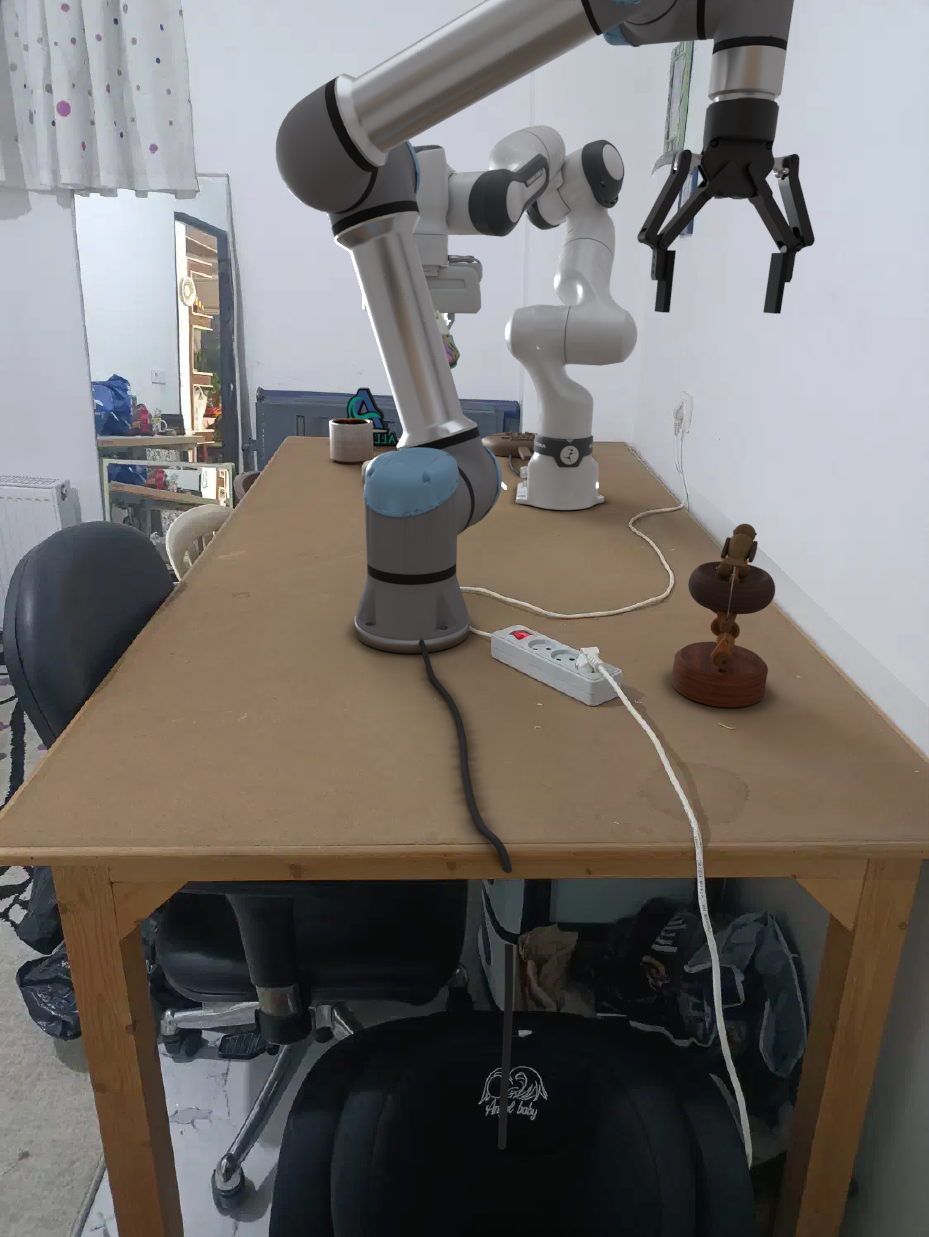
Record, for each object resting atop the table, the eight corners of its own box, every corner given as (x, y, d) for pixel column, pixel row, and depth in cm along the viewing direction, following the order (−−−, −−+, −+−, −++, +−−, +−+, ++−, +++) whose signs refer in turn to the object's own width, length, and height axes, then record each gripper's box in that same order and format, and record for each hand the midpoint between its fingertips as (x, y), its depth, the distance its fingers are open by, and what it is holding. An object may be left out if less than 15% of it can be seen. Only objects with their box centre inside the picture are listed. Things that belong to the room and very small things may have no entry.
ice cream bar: (485, 466, 209) (486, 449, 208) (478, 444, 235) (479, 429, 234) (570, 466, 210) (571, 449, 209) (554, 445, 236) (554, 430, 235)
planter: (327, 456, 217) (325, 418, 214) (369, 454, 220) (368, 417, 217) (334, 465, 208) (332, 425, 204) (377, 463, 211) (376, 424, 207)
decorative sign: (398, 443, 235) (398, 388, 229) (397, 445, 232) (396, 389, 227) (331, 441, 236) (328, 386, 230) (329, 443, 233) (326, 387, 228)
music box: (782, 717, 92) (796, 541, 85) (678, 718, 94) (683, 545, 86) (753, 658, 106) (763, 503, 99) (664, 660, 108) (667, 506, 100)
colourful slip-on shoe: (409, 372, 127) (409, 311, 124) (397, 357, 150) (396, 305, 146) (464, 372, 129) (465, 312, 125) (443, 357, 151) (444, 306, 148)
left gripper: (830, 113, 96) (799, 312, 104) (619, 102, 92) (604, 310, 100) (870, 101, 89) (833, 315, 97) (644, 89, 85) (625, 313, 93)
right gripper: (479, 256, 146) (477, 340, 151) (360, 253, 142) (362, 339, 148) (486, 255, 140) (484, 343, 145) (362, 253, 137) (365, 342, 142)
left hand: (717, 313), depth 98 cm, fingers open, 13 cm apart
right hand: (422, 341), depth 146 cm, fingers closed on colourful slip-on shoe, 6 cm apart
